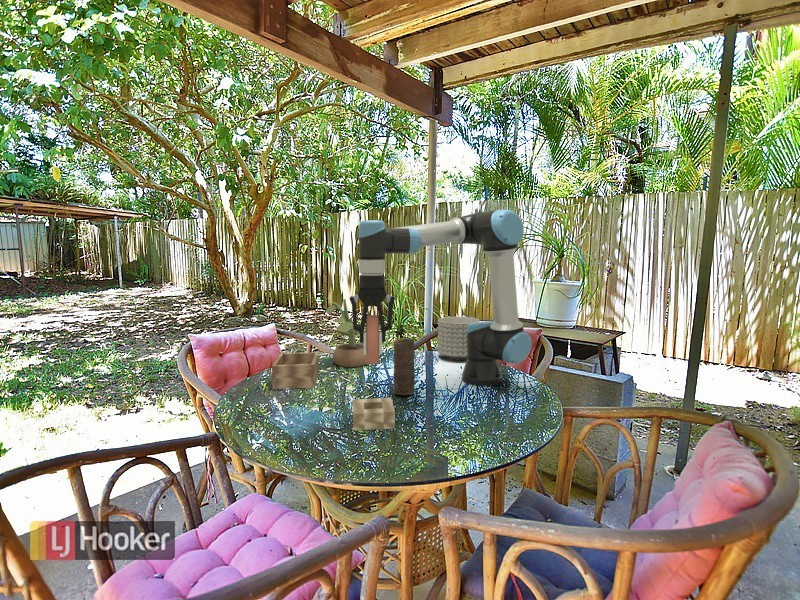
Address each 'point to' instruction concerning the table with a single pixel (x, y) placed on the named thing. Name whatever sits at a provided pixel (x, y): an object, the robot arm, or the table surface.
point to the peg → (372, 339)
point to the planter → (453, 336)
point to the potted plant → (351, 351)
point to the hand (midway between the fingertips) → (372, 353)
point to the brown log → (404, 366)
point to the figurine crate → (295, 370)
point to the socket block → (373, 414)
